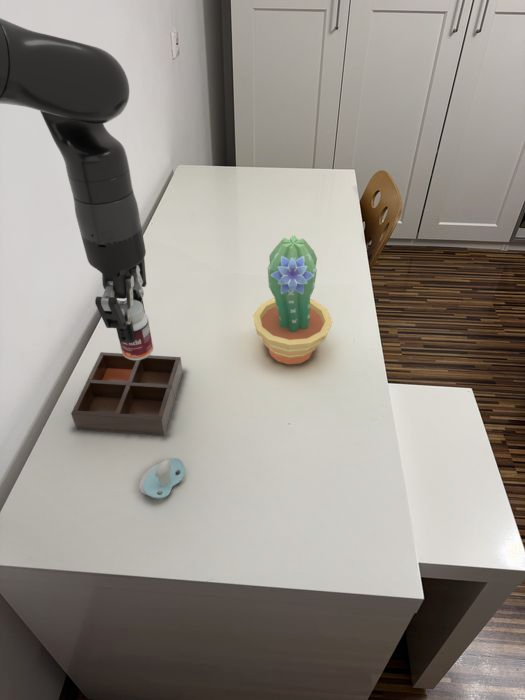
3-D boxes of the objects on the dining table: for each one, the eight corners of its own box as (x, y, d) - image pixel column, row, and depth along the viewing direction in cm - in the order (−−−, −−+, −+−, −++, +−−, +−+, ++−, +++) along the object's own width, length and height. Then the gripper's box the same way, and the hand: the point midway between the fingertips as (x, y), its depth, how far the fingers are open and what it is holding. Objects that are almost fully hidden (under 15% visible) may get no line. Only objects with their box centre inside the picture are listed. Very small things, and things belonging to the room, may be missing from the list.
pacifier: (131, 491, 77) (160, 509, 75) (122, 467, 73) (154, 485, 71) (162, 458, 82) (191, 474, 79) (156, 433, 78) (186, 449, 75)
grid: (164, 435, 85) (161, 420, 82) (76, 429, 86) (70, 413, 83) (182, 372, 97) (180, 357, 94) (105, 367, 98) (100, 352, 95)
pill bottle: (117, 359, 76) (106, 315, 70) (129, 339, 79) (119, 296, 74) (147, 363, 75) (138, 319, 70) (157, 342, 79) (150, 299, 73)
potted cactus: (237, 353, 101) (233, 244, 84) (281, 316, 110) (286, 210, 93) (300, 387, 94) (310, 275, 77) (342, 344, 103) (359, 236, 86)
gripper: (100, 199, 69) (123, 299, 80) (59, 253, 58) (91, 360, 69) (154, 201, 68) (169, 302, 79) (122, 257, 57) (144, 364, 69)
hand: (133, 329), depth 74 cm, fingers closed on pill bottle, 4 cm apart
